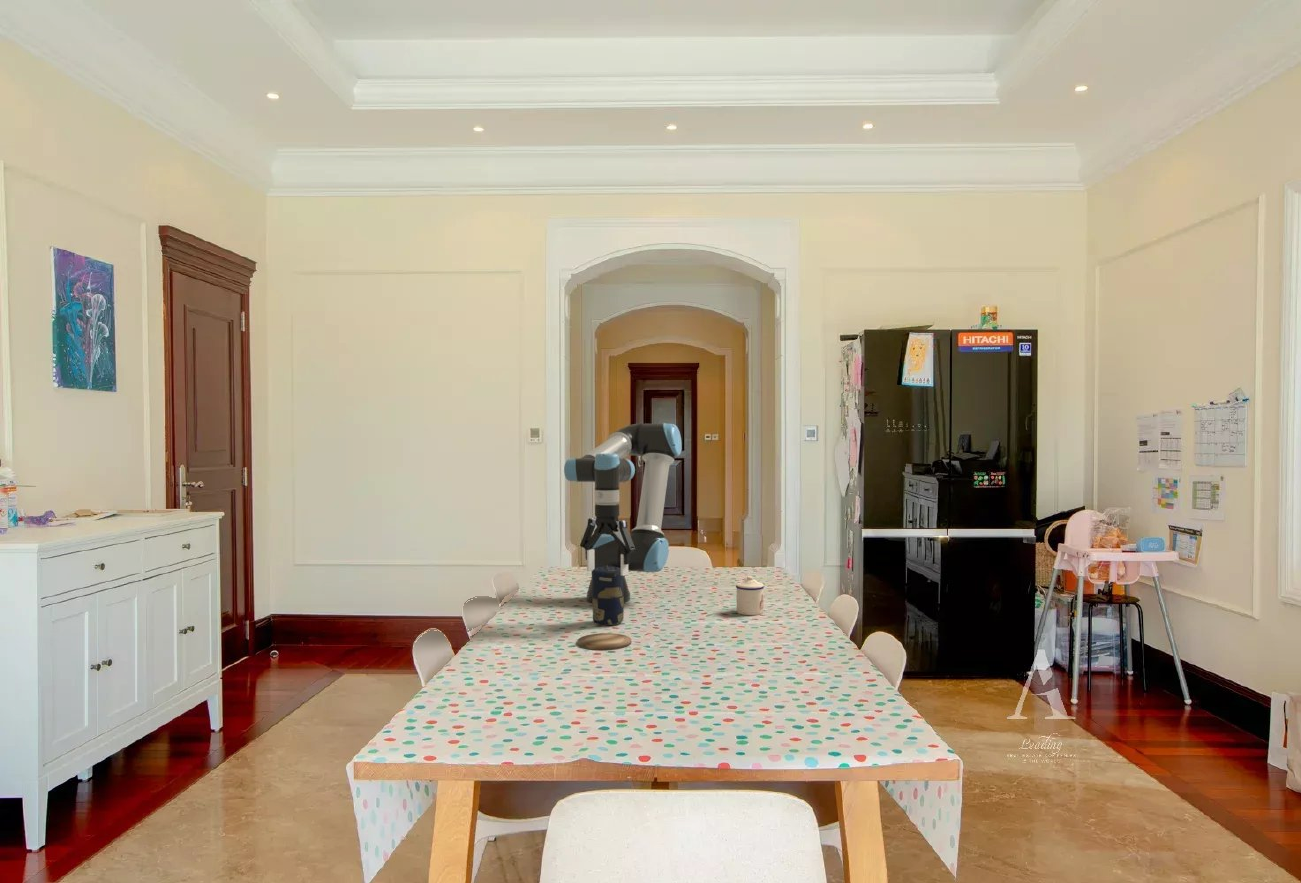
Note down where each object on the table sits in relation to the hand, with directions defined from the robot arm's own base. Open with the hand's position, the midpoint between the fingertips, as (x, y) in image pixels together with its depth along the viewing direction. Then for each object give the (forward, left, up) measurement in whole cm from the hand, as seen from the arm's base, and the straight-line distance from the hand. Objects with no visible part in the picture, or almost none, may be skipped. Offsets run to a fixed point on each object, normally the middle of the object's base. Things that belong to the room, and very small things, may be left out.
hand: (607, 572), depth 257 cm
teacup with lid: (+27, +39, -16) cm, 50 cm away
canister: (0, 0, -16) cm, 16 cm away
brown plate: (+14, -18, -16) cm, 27 cm away
